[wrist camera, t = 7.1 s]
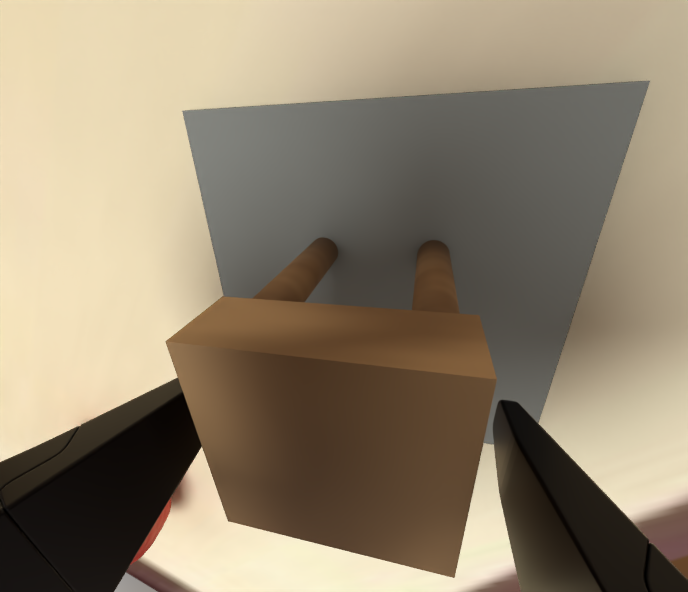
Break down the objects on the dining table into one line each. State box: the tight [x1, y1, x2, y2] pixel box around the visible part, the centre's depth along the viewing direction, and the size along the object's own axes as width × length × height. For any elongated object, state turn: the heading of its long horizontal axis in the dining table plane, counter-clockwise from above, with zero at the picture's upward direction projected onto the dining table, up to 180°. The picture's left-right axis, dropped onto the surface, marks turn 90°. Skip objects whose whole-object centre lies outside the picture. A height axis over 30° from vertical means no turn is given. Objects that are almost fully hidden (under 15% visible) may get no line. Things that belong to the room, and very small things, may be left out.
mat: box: [183, 81, 650, 444], centre depth 14 cm, size 15×15×1 cm
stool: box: [166, 237, 497, 578], centre depth 10 cm, size 6×6×8 cm
